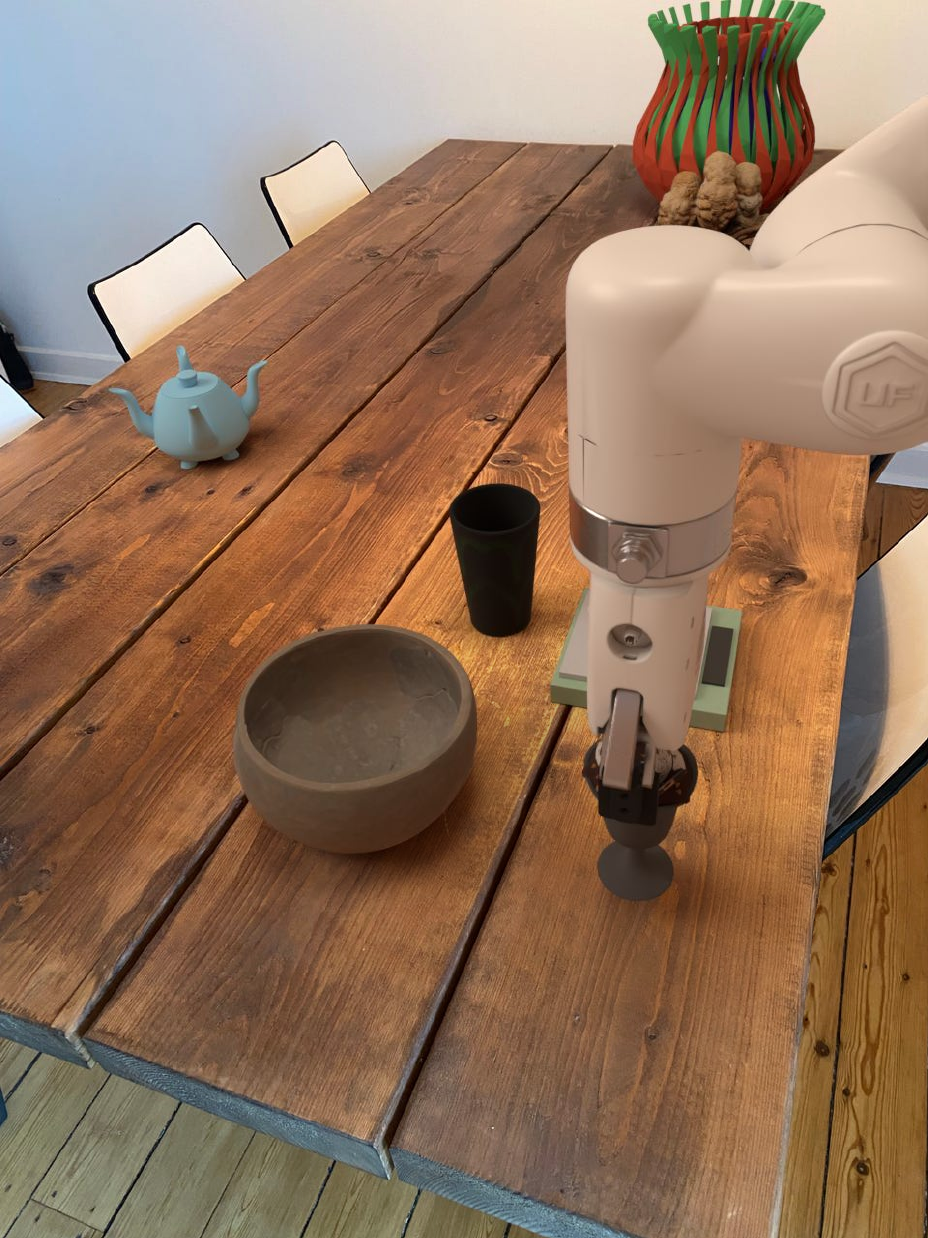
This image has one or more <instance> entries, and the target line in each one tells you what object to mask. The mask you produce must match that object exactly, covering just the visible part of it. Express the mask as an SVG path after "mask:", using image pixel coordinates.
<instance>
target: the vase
mask: <svg viewBox="0 0 928 1238" xmlns="http://www.w3.org/2000/svg"><path fill="white" fill-rule="evenodd" d="M754 1H755V0H741V3H740V10H739V15H738V16H730V13H731V6H732V0H720V16H719V17H714V18H711V17H710V13H711V12H710V10H711V9H710V7H711V5H710V2H711V1H709V0H708V1H701V2H700V15H701V20H699V21H698V20H693V15H692V13H693V12H692V8H691V4H690V3H686V4H683V5H682V9H683V14H684V17H685V22H686V23H682V24H681V25H680V22H679V19H678V16H677V13H676V9H675V6H670V7H669V8H668V12H669V14H670V18H671V21H672V22H671V23H669V22H668V19H667V17H666V15H665V13H664V11H663V9H661V10H658V11H656V13H650V15H649V16H648V17H647V26H648V28H649V30H650V31H651V34H652V35H653V37H654V39H655V41H656V42H657V44H658V46H659V47H660V50H661V52H662V56H663V60H664V63H665V65H664V68H663V70H662V73H661V77H660V78H659V80H658V81H659V82H658V83H657V86H656V89H655V91H654V92H653V95H652V97H651V99H650V100H649V102H648V104H647V106H646V108H645V109H644V112H643V114H642V116H641V118H640V120H639V121H638V123H637V125H636V128H635V132H634V137H633V139H632V140H633V141H632V163H633V164H634V165H635V169H636V171H637V173H638V175H639V178H640V179H641V182H642V183H643V185H644V187H645V188H646V189H647V190H648V192H649V193H651V195H653V197H654V198H655V199H656V200H657V201H658V202H659V203H660V204H661V201H662V200H663V197H664V195H665V194H666V193H668V192H669V191H671V185H672V183H673V180H674V178H675V176H677V174H679V173H681V172H684V171H689V172H694V173H696V174H697V175H698V176H699V177H700V179H701V181H702V183H703V182H704V179H705V175H704V173H703V172H704V166H705V161H706V159H707V158H708V157H709V156H711V154H712V153H715V152H717V151H721V152H725V153H728V154H729V155H730V156H731V157H732V158H733V160H734V162H735V163H736V166H737V165H738V164H740V163H744V162H749V163H753V164H756V165H757V166H758V167H759V169H760V173H761V180H762V182H761V191H760V195H761V196H762V197H763V200H762V202H761V207H760V210H759V213H760V212H761V211H763V210H766V209H767V208H768V207H770V206H771V205H772V204H773V203H774V202H775V201H777V200H778V199H779V198H780V197H782V196H783V195H784V194H785V193H786V192H788V191H789V190H790V189H791V188H792V187H794V185H795V184H796V183H797V181H798V180H799V179H800V178H801V176H802V175H803V174H804V172H805V171H806V169H808V167H809V165H810V164H811V163H812V161H813V156H814V151H815V145H816V127H815V123H814V120H813V117H812V113H811V109H810V106H809V103H808V101H807V98H806V94H805V92H804V89H803V87H802V83H801V78H800V72H799V66H798V58H799V56H800V55H801V53H802V50H803V48H804V47H805V45H806V43H807V41H808V40H809V39H810V38H811V36H812V35H813V33H814V32H815V31H816V29H817V28H818V26H819V25H820V24H821V23H822V21H823V20H824V17H825V16H826V9H825V8H822V6H821V4H815V3H812V2H807V1H800V0H799V1H798V2H797V3H796V5H795V2H796V1H795V0H781V1H780V3H779V5H778V8H777V9H776V12H775V14H774V17H770V16H771V14H772V12H773V10H774V7H775V6H776V0H762V1H761V3H760V6H759V9H758V13H757V16H750V15H751V12H752V9H753V5H754Z"/></svg>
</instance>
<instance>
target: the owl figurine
mask: <svg viewBox="0 0 928 1238" xmlns="http://www.w3.org/2000/svg"><path fill="white" fill-rule="evenodd" d="M703 173H704V175H705V179H704V182H703V183H702V181H701V179H700V177H699V176H698V175H697V174H696V173H694V172H689V171H684V172H681V173H679V174H677V176H675V178H674V180H673V183H672V185H671V191H669V192H668V193H666V194H665V195H664V197H663V200H662V201H661V203H660V204H659V205H660V206H659V210H658V215H659V216H658V217H657V224H658V226H662V225H678V226H691V227H698V228H704V229H709V230H713V231H717V232H720V233H724V234H726V235H728V236H730V237H732V238H734V239H735V240H737V241H738V242H740V243H741V244H742V245H744V246H745V247H746V248H747V249H748V251H750V248H751V244H749V243H744V242H743V241H747V240H750V239H752V238H753V239H754V238H755V236H756V234H757V233H758V231H759V230H760V228H761V226H762V225H763V223H764V222H765V220H766V219H767V217H768V216H769V215H770V214H771V213H764V214H760V212H759V210H760V207H761V202H762V200H763V197H762V196H761V195H760V191H761V182H762V180H761V173H760V169H759V167H758V166H757V165H756V164H753V163H749V162H744V163H740V164H738V165H737V166H736V163H735V162H734V160H733V158H732V157H731V156H730V155H729V154H728V153H725V152H721V151H717V152H715V153H712V154H711V156H709V157H708V158H707V159H706V161H705V166H704V172H703Z"/></svg>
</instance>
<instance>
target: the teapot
mask: <svg viewBox="0 0 928 1238" xmlns="http://www.w3.org/2000/svg"><path fill="white" fill-rule="evenodd" d="M175 354H176V357H177V361H178V369H179V372H178V373H177V374H176V376H173V377H171V378H169V379H168V380H166V381H165V382H164V383H163V384H162V385H161V386H160V388H159V389H158V390H159V391H158V393H157V395H156V398H155V401H154V404H153V407H152V411H151V415H150V414H147V413H146V412H144V411H143V410H142V409H141V407H140V405H139V403H138V400H137V398H136V397H135V395H134V394H133V393H132V392H131V391H130V390H127V389H124V388H119V387H118V388H117V387H111V388H110V387H109V388H108V391H109V392H110V393H112V394H114V395H116V396H118V397H119V398H120V399H121V400H122V401H123V402H124V404H126V407H127V409H128V410H127V411H128V412H129V415H130V418H131V420H132V423H133V425H134V426H135V428H136V429H137V431H138V432H139V433H140V434H141V435H142V436H144V437H145V438H148V439H150V440H153V443H154V445H155V446H156V447H157V449H158V450H159V451H161V452H162V453H164V454H166V455H167V456H169V457H171V458H173V459H174V460H178V461H180V468H181V469H183V470H189V469H194V468H195V467H197V466H198V464H199V463H198V462H203V461H210V460H215V459H217V458H222V459H223V460H224V461H232V460H233V461H234V460H236V459H237V458H239V456H240V453H239V452H238V450H236V449H237V448H238V447H240V445H242V443H243V442H244V440H245V439H246V437H247V435H248V433H249V431H250V428H251V419H252V418H253V417H254V416H255V415H256V413H257V411H258V410H259V406H260V390H259V374H260V373H261V370H262V369H263V368H264V366H265V365H266V364H267V363H268V360H261V361H259V362H256V363H254V364H253V365H252V366H251V367H250V368H249V369H248V371H247V375H246V391H245V392H244V394H243V395H242V396H241V397H239V395H238V394H237V393H236V392H235V391H234V389H233V388H231V387H230V385H228V384H227V383H226V382H225V381H224V380H223V379H221V378H220V377H219V376H218V375H216V374H214V373H211V372H209V371H197V370H195V368H194V366H193V365H192V363H191V360H190V358H189V356H188V352H187V350H186V348H185V347H184V346H183V345H177V346H176V348H175Z"/></svg>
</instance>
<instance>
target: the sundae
mask: <svg viewBox="0 0 928 1238" xmlns="http://www.w3.org/2000/svg"><path fill="white" fill-rule="evenodd" d="M602 741H603V736H600V737H599V738H598V740H596V741H595V742H593V744H591V746H589V747H588V749H587V751H586V752H585V754H584V758H583V760H582V761H583V762H582V769H581V776H582V778H583V779H584V780H585V781H586V783H587V786H588V788H589V790H590V792H591V793H592V795H593V797H594V798H595V799H596V800H597V801H598V768H599V765H600V761H601V751H602ZM645 747H646V743H641V742H636V748H635V755H634V761H635V762H641V763H644V756H645ZM655 771H656V772H658V773H660V783H659V798H658V812H657V820H656V824H655V825H654V826H645V825H640V824H635V823H634V824H628V823H623V822H619V821H616V820H614V819H609V818H604V817H602V818H603V822H604V824H605V827H606V830H607V832H608V834H609V836H610V837H611V839H612V840H613V841H611V842H610V843H609V844H608V845H607V846H605V848H604V849H602V851H601V852H600V855H599V857H598V859H597V863H596V865H597V866H596V868H597V869H596V870H597V876H598V878H599V880H600V882H601V884H602V885H603V886H604V888H605V889H606V890H608V892H610V893H611V894H612V895H614V896H615V897H618V898H620V899H622V900H626V901H629V902H648V901H651V900H654V899H656V898H658V897H661V896H662V895H663V894H664V893H666V891H667V890H668V889H669V888H670V887H671V885H672V882H673V880H674V876H675V868H674V864H673V863H674V862H673V860H672V858H671V857H670V855H669V854H668V852H667V851H666V850H665V848H663V847H662V846H661V843H662V842H663V841H664V840H665V839H666V838H667V836H668V835H669V833H670V830H671V828H672V826H673V823H674V820H675V817H676V813H677V810H678V808H679V807H681V806H683V805H687V804H689V803H690V802H691V797H692V795H693V794H694V793H695V789H696V786H697V783H698V778H699V766H698V762H697V758H696V756H695V754H694V753H693V752H692V751H691V749H690V748H689V747H688V746H687V745H686V744H685V743H684V744H683V745H682V746H681V747H680V748H679V749H677V750H675V751H670V750H663V749H658V748H657V756H656V765H655Z"/></svg>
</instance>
